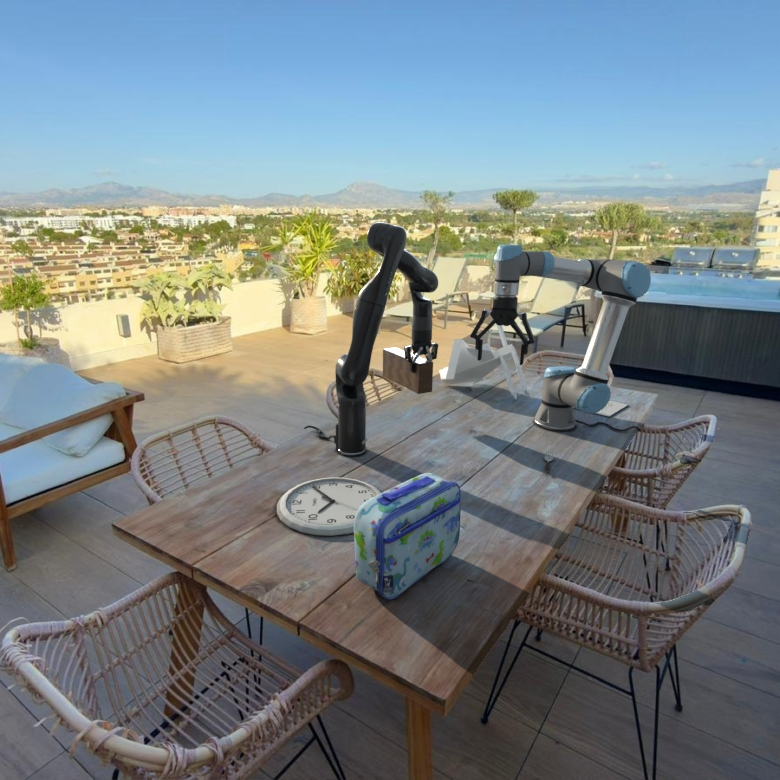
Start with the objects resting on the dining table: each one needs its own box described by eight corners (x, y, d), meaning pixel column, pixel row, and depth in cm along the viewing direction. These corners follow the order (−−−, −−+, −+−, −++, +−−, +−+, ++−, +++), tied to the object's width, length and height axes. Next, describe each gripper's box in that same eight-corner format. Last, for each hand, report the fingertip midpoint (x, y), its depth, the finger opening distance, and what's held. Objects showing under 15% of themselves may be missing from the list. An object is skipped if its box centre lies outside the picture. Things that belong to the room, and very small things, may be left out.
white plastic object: (461, 429, 252) (437, 405, 227) (444, 352, 274) (420, 323, 250) (535, 404, 240) (518, 377, 215) (510, 326, 262) (492, 293, 237)
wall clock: (392, 527, 129) (268, 531, 127) (391, 533, 130) (269, 537, 127) (383, 473, 158) (282, 475, 155) (383, 478, 158) (282, 480, 156)
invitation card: (608, 416, 214) (573, 407, 224) (608, 416, 214) (573, 408, 224) (628, 404, 229) (594, 396, 238) (628, 405, 229) (594, 397, 238)
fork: (541, 474, 162) (542, 468, 162) (545, 454, 177) (545, 449, 176) (550, 476, 162) (550, 470, 161) (553, 456, 176) (553, 450, 175)
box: (382, 376, 218) (382, 348, 214) (395, 374, 221) (396, 347, 217) (418, 394, 195) (419, 363, 192) (432, 391, 198) (433, 361, 195)
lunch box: (382, 612, 103) (384, 519, 97) (347, 586, 110) (346, 498, 104) (464, 557, 121) (469, 475, 114) (429, 538, 128) (432, 460, 122)
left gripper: (410, 331, 186) (409, 376, 191) (443, 327, 193) (442, 371, 198) (399, 327, 192) (399, 371, 197) (432, 324, 199) (430, 367, 204)
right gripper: (463, 294, 164) (459, 360, 171) (545, 299, 156) (538, 368, 162) (469, 292, 171) (465, 355, 177) (548, 297, 162) (541, 363, 169)
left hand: (420, 371), depth 197 cm, fingers closed on box, 6 cm apart
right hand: (500, 361), depth 170 cm, fingers open, 13 cm apart
